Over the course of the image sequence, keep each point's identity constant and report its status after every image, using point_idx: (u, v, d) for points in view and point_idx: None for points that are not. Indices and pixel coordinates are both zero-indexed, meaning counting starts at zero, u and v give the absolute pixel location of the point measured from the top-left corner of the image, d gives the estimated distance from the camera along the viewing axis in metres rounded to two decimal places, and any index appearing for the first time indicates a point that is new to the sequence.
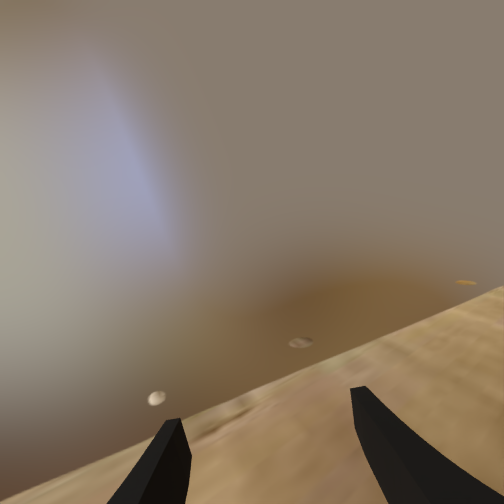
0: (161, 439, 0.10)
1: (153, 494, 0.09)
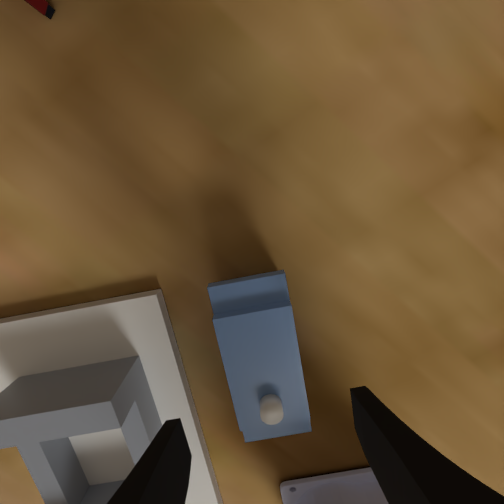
0: (161, 439, 0.10)
1: (153, 494, 0.09)
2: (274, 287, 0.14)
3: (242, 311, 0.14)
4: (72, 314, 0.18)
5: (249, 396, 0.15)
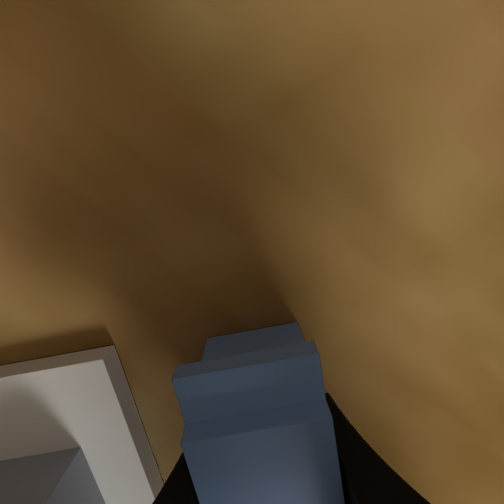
0: None
1: None
2: (297, 378, 0.08)
3: (238, 423, 0.07)
4: None
5: None
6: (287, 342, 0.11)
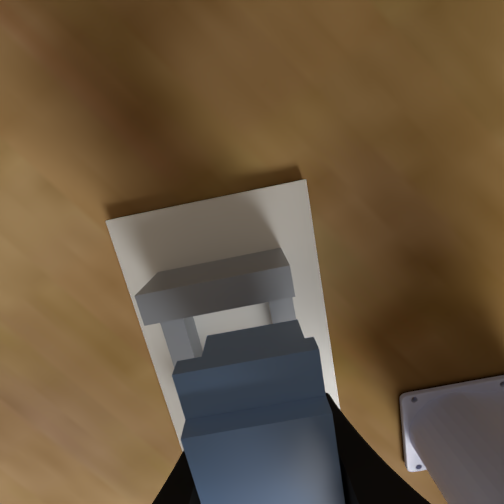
0: None
1: None
2: (297, 374, 0.08)
3: (238, 419, 0.07)
4: (219, 201, 0.18)
5: None
6: (287, 339, 0.11)
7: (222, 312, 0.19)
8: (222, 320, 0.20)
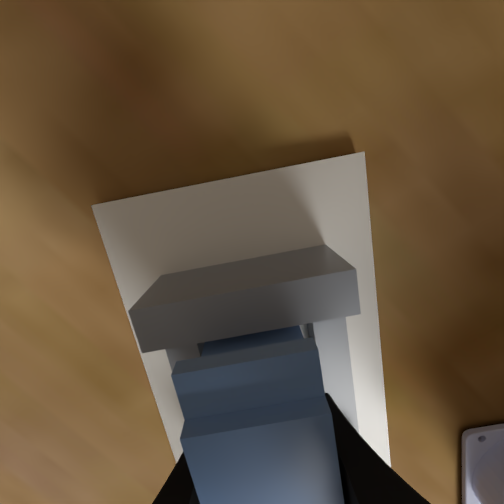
0: None
1: None
2: (297, 374, 0.08)
3: (237, 419, 0.07)
4: (246, 181, 0.13)
5: None
6: (287, 339, 0.11)
7: None
8: None
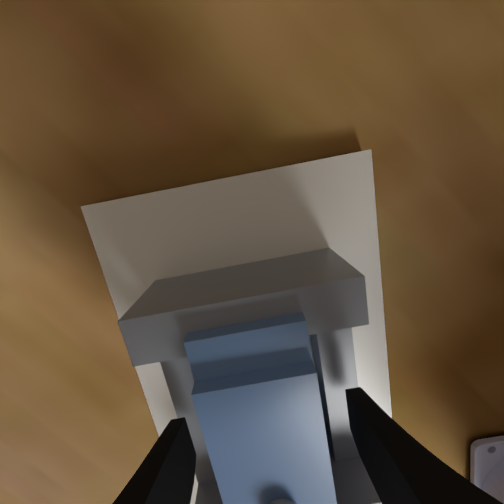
0: (166, 438, 0.10)
1: (159, 493, 0.09)
2: (288, 342, 0.09)
3: (238, 379, 0.09)
4: (245, 180, 0.12)
5: (250, 501, 0.10)
6: None
7: None
8: None
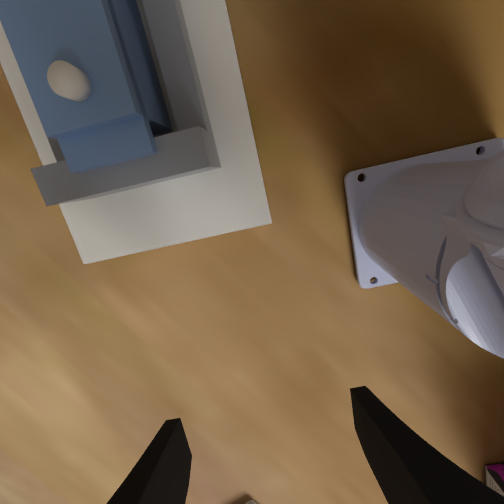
0: (161, 439, 0.10)
1: (153, 494, 0.09)
2: None
3: None
4: None
5: (46, 73, 0.11)
6: None
7: None
8: None
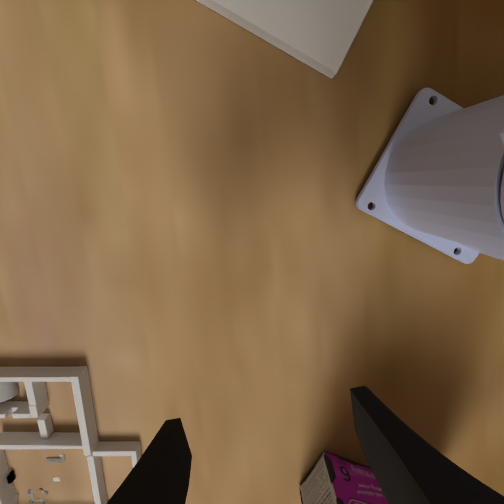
0: (161, 439, 0.10)
1: (153, 494, 0.09)
2: None
3: None
4: None
5: None
6: None
7: None
8: None
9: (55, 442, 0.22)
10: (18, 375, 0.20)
